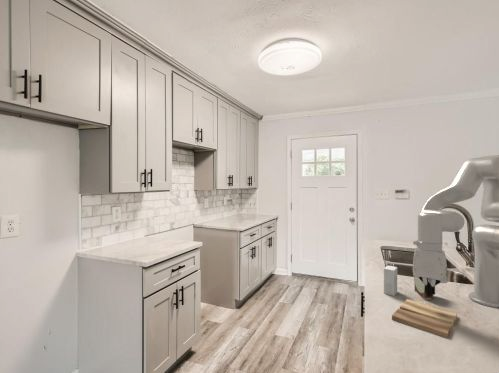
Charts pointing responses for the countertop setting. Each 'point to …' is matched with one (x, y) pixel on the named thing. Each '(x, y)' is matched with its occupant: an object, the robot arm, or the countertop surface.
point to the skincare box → (390, 280)
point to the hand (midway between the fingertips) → (429, 295)
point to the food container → (421, 288)
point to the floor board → (422, 322)
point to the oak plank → (429, 311)
